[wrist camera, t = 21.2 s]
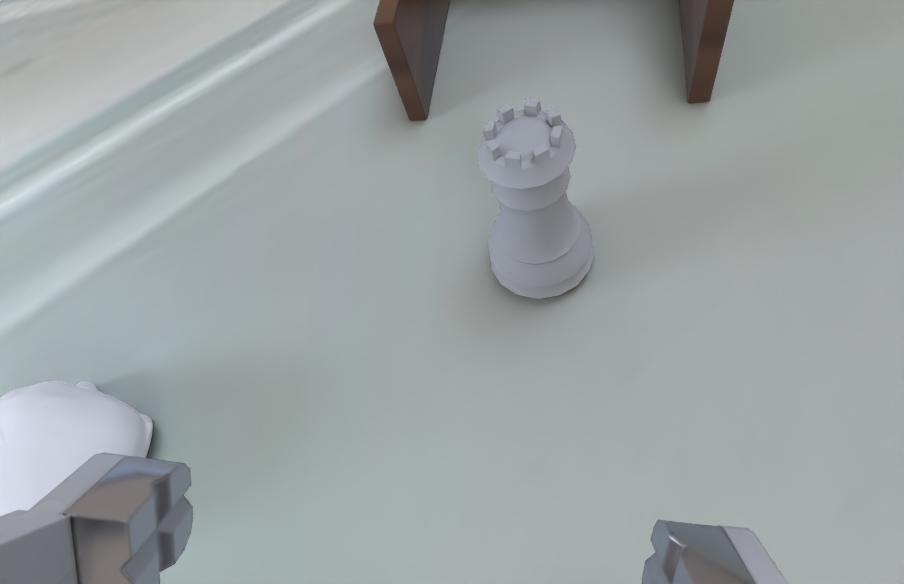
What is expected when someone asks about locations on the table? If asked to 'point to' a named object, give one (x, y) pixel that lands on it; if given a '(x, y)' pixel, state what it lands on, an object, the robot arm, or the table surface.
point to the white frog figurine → (60, 437)
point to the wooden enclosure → (423, 21)
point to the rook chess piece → (534, 203)
